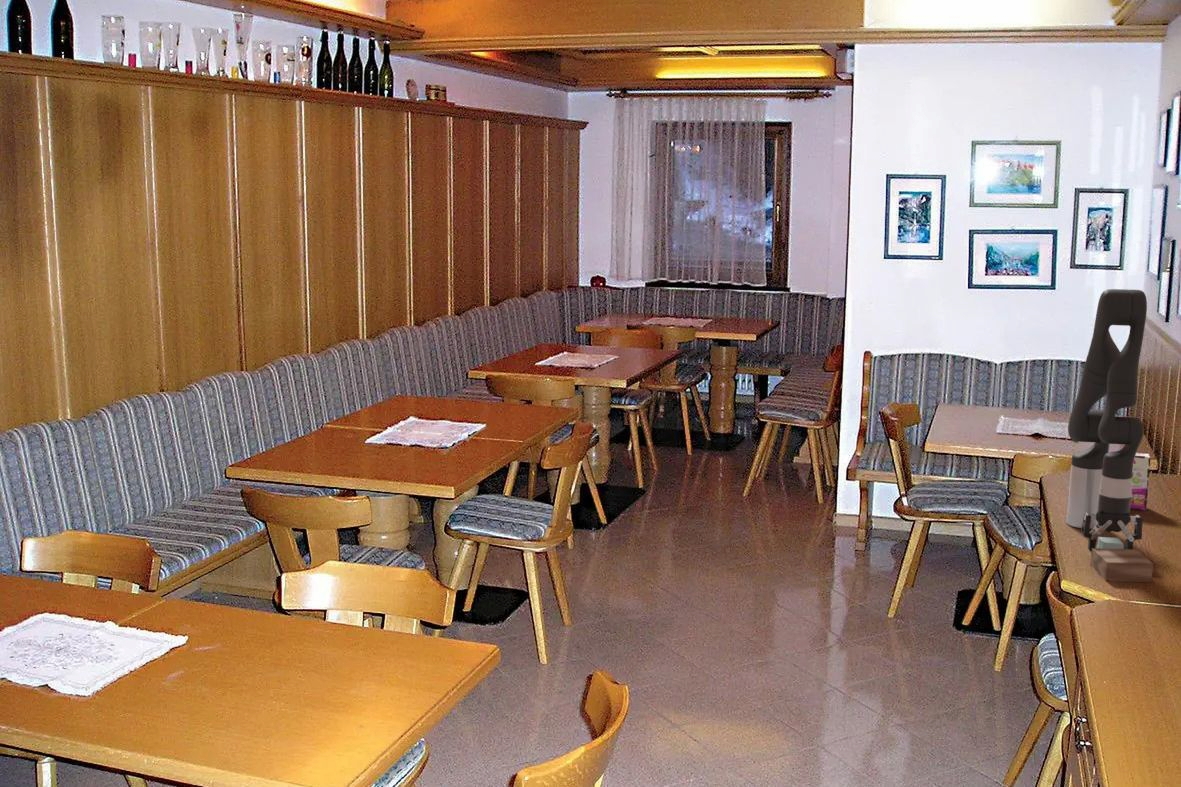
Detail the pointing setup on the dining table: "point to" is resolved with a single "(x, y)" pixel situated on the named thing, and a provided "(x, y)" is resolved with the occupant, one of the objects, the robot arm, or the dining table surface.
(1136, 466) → the candy bar box
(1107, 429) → the robot arm
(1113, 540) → the teal cube
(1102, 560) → the walnut block
